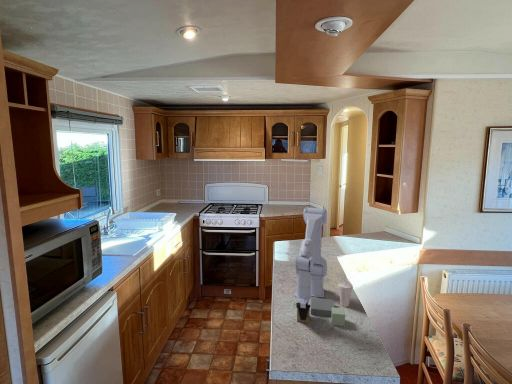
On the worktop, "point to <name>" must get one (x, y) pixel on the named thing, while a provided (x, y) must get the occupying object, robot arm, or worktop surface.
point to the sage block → (338, 316)
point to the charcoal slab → (321, 306)
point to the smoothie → (345, 292)
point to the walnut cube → (306, 317)
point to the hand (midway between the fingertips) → (303, 315)
